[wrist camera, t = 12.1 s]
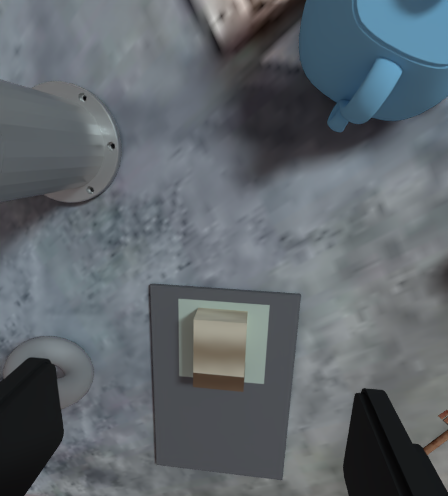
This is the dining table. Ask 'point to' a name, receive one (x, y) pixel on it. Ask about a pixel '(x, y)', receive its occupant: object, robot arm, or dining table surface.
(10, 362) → the donut
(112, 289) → the dining table surface
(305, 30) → the decorative pot
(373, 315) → the dining table surface
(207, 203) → the dining table surface
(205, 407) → the mat
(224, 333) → the wooden block
